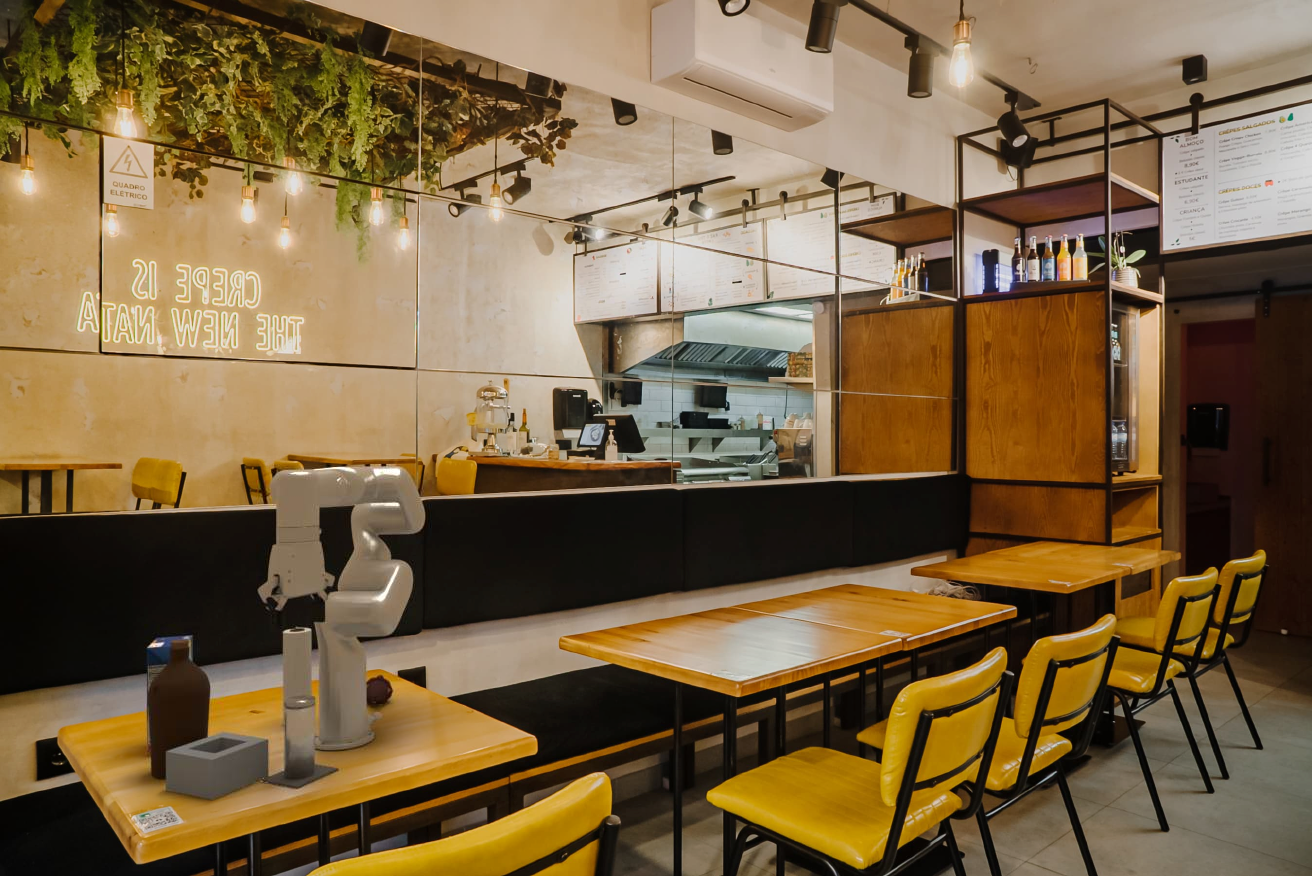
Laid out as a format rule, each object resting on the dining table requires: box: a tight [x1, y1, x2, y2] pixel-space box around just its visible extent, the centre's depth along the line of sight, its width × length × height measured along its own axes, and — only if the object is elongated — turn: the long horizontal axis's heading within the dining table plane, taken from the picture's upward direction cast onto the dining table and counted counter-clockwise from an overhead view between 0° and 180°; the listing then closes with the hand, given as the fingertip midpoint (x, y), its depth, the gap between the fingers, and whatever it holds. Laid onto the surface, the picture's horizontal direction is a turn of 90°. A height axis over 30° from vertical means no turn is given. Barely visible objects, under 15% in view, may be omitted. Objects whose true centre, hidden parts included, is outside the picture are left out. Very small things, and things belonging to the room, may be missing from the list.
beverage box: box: [146, 635, 194, 758], centre depth 179 cm, size 7×11×22 cm, turn 21°
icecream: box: [366, 674, 394, 706], centre depth 208 cm, size 7×7×15 cm
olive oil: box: [148, 639, 211, 780], centre depth 164 cm, size 11×11×25 cm
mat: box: [260, 763, 339, 790], centre depth 160 cm, size 10×9×1 cm
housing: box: [165, 731, 269, 801], centre depth 157 cm, size 12×12×7 cm
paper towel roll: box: [282, 626, 313, 727], centre depth 193 cm, size 7×6×21 cm
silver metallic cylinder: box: [283, 695, 317, 780], centre depth 160 cm, size 6×6×14 cm
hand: (298, 626), depth 161 cm, fingers open, 9 cm apart
